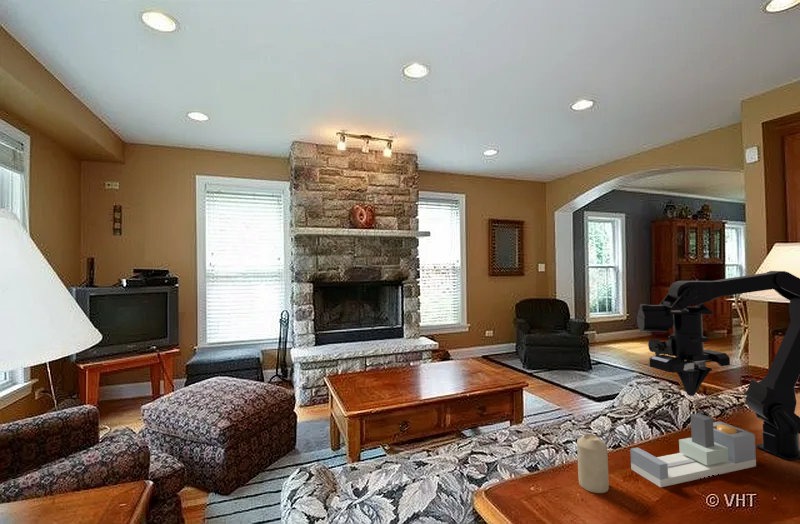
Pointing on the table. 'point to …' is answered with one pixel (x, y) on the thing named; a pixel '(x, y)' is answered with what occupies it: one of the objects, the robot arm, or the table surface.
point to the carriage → (703, 442)
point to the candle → (592, 464)
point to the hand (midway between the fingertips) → (690, 395)
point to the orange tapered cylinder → (727, 429)
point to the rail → (689, 469)
